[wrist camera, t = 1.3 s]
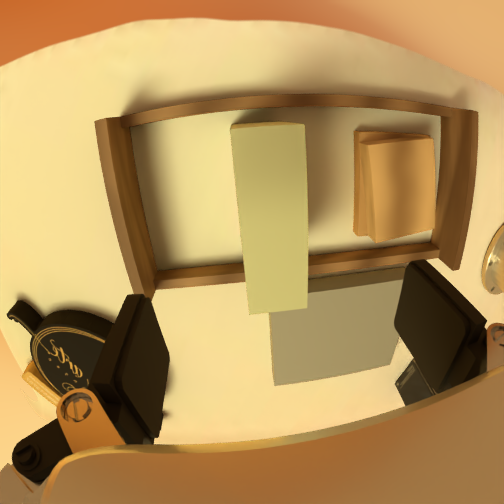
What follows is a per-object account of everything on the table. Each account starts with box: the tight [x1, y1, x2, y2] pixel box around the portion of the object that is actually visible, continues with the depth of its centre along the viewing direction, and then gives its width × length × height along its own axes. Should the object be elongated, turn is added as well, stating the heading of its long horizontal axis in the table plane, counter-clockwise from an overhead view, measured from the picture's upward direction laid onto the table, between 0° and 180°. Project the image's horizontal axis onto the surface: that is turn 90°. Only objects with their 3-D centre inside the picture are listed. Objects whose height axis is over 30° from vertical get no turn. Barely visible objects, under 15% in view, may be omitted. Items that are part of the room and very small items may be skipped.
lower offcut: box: [353, 131, 430, 236], centre depth 26 cm, size 8×10×2 cm
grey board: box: [269, 267, 405, 386], centre depth 33 cm, size 16×14×2 cm
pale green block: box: [230, 121, 308, 315], centre depth 22 cm, size 4×12×10 cm, turn 5°
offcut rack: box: [95, 94, 478, 301], centre depth 24 cm, size 32×16×5 cm, turn 95°
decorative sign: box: [7, 300, 163, 430], centre depth 35 cm, size 29×3×25 cm
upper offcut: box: [359, 136, 436, 243], centre depth 24 cm, size 7×9×2 cm
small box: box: [395, 359, 439, 406], centre depth 36 cm, size 11×6×10 cm, turn 76°
